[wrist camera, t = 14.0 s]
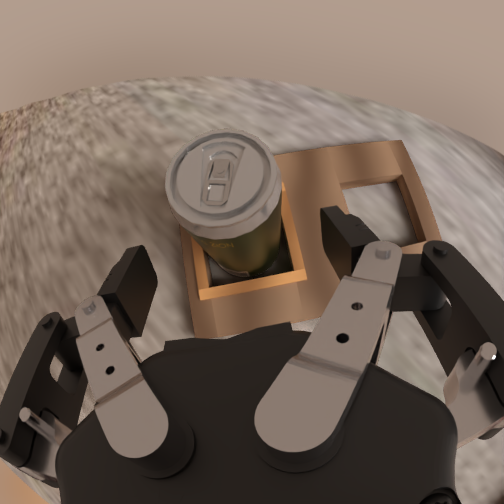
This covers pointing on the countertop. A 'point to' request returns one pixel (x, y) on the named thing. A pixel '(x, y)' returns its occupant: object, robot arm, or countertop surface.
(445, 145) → the countertop surface
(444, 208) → the countertop surface
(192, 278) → the socket board
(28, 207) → the countertop surface
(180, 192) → the beer can
